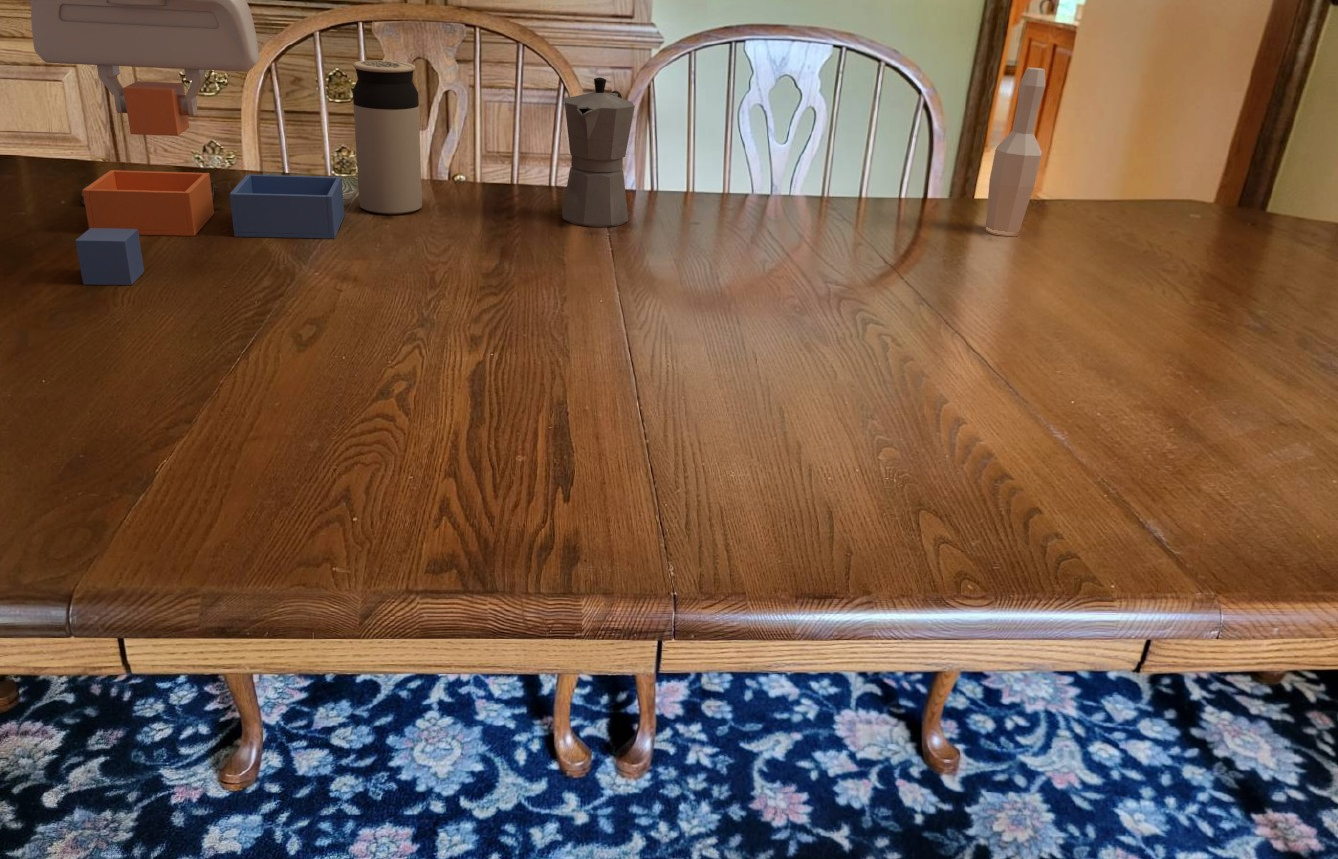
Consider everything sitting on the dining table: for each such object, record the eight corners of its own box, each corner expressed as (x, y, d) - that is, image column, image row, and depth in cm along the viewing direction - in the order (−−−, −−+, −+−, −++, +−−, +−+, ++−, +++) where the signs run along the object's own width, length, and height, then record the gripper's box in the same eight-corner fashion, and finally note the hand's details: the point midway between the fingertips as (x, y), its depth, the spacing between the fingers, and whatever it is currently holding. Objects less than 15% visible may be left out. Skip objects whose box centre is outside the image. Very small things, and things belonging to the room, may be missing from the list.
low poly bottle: (1030, 239, 146) (1067, 73, 136) (984, 236, 146) (1018, 69, 136) (1018, 227, 151) (1052, 67, 142) (974, 224, 151) (1005, 64, 142)
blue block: (83, 284, 104) (75, 240, 102) (97, 270, 108) (90, 227, 106) (131, 285, 105) (124, 241, 103) (144, 271, 109) (138, 228, 107)
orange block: (130, 134, 105) (123, 87, 103) (143, 126, 109) (136, 80, 107) (178, 135, 106) (171, 89, 104) (189, 127, 110) (183, 82, 108)
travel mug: (367, 217, 133) (359, 68, 126) (353, 202, 140) (344, 59, 132) (429, 213, 137) (425, 68, 129) (413, 199, 143) (407, 60, 135)
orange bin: (89, 233, 119) (82, 189, 117) (117, 211, 128) (110, 170, 126) (194, 236, 121) (189, 192, 119) (214, 213, 130) (209, 172, 128)
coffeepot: (614, 234, 133) (620, 87, 126) (544, 225, 135) (546, 79, 128) (646, 208, 147) (654, 73, 139) (582, 200, 149) (586, 67, 141)
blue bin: (234, 236, 122) (229, 193, 120) (250, 214, 131) (246, 174, 129) (334, 238, 124) (331, 196, 122) (344, 216, 133) (341, 176, 131)
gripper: (5, -41, 96) (35, 114, 102) (241, -27, 100) (256, 123, 106) (32, -44, 102) (58, 104, 108) (254, -31, 105) (268, 112, 111)
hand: (158, 113), depth 107 cm, fingers closed on orange block, 4 cm apart
